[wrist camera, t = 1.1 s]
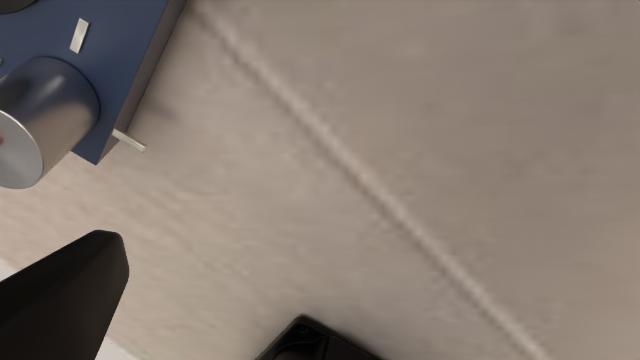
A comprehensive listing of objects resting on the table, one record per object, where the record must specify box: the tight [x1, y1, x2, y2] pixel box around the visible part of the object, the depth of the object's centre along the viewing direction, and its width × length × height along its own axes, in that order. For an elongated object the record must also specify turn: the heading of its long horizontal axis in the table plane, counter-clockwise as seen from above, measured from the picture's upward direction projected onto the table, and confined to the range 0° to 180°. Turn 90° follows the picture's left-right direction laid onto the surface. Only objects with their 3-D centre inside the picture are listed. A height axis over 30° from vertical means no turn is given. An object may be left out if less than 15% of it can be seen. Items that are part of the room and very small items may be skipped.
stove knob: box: [0, 57, 99, 189], centre depth 21 cm, size 3×3×4 cm
